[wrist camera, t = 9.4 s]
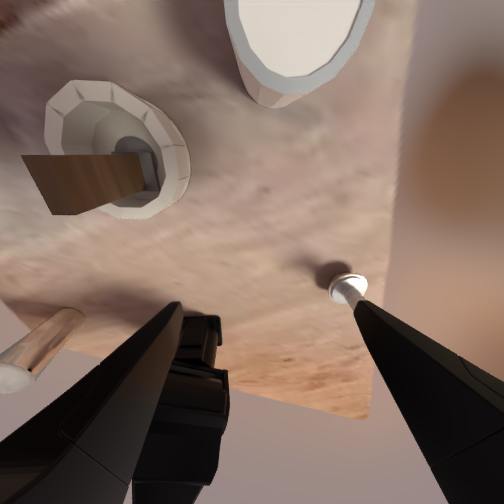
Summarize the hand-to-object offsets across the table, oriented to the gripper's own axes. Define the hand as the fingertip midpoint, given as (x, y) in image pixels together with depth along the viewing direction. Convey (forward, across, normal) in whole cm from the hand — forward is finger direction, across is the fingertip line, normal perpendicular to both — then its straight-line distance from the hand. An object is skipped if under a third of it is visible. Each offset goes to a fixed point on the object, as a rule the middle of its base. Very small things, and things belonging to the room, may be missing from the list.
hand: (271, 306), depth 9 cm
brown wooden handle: (+12, +11, -5) cm, 17 cm away
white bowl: (+12, +11, -6) cm, 18 cm away
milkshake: (+13, +26, +14) cm, 32 cm away
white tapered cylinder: (+13, -1, -13) cm, 18 cm away
